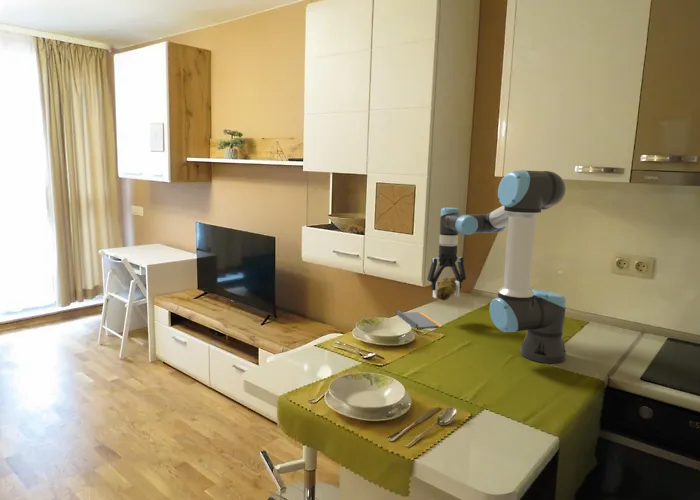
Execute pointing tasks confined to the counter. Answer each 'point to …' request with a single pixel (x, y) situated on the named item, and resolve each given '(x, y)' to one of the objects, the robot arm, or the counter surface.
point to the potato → (445, 288)
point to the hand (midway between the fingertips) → (445, 296)
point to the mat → (416, 320)
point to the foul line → (430, 319)
